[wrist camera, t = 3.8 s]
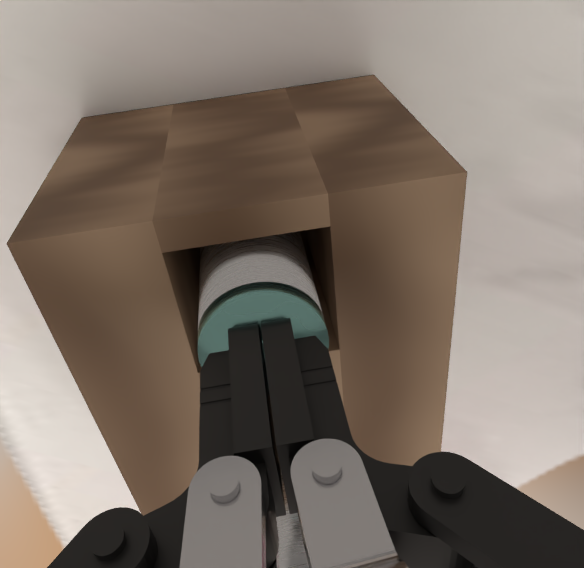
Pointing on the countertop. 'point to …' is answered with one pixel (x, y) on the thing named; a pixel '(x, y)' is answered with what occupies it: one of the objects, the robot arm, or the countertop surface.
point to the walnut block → (241, 226)
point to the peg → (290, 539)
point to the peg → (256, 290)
